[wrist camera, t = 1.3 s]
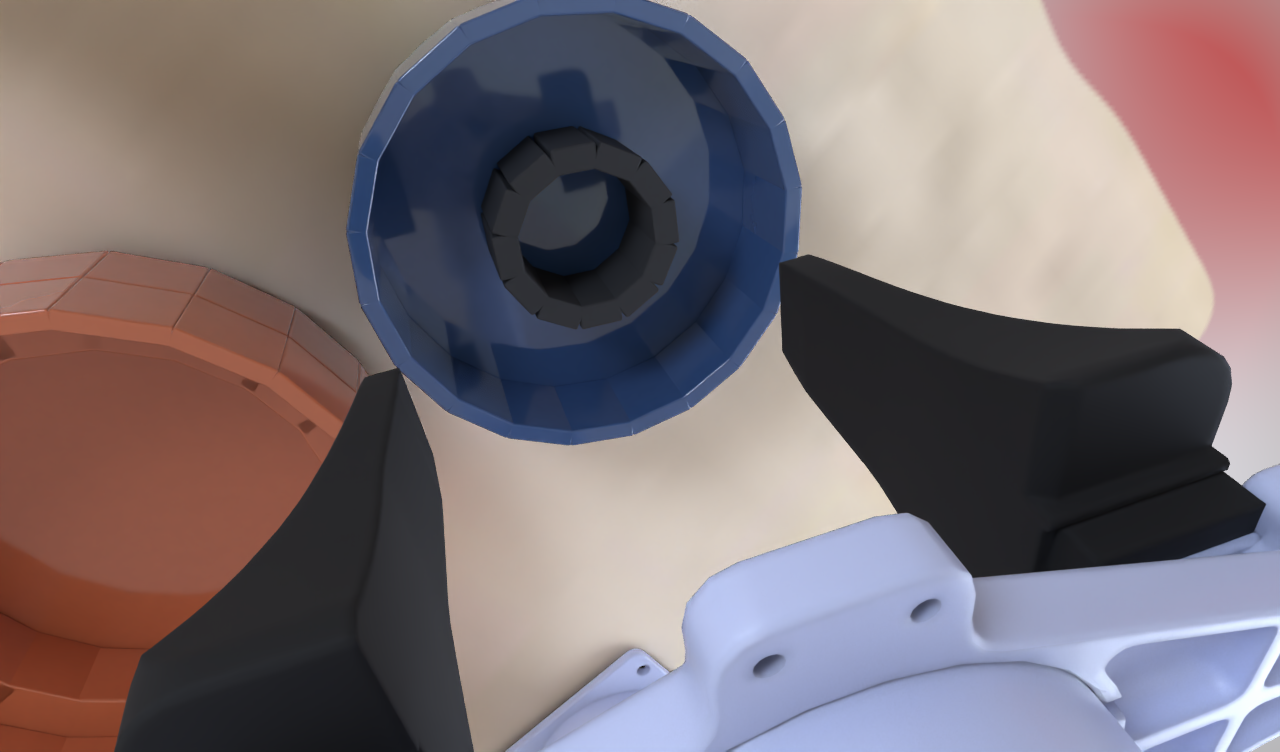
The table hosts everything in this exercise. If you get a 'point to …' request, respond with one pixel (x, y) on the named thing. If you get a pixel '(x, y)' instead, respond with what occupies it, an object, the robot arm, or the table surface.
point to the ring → (618, 277)
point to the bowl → (139, 467)
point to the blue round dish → (571, 214)
